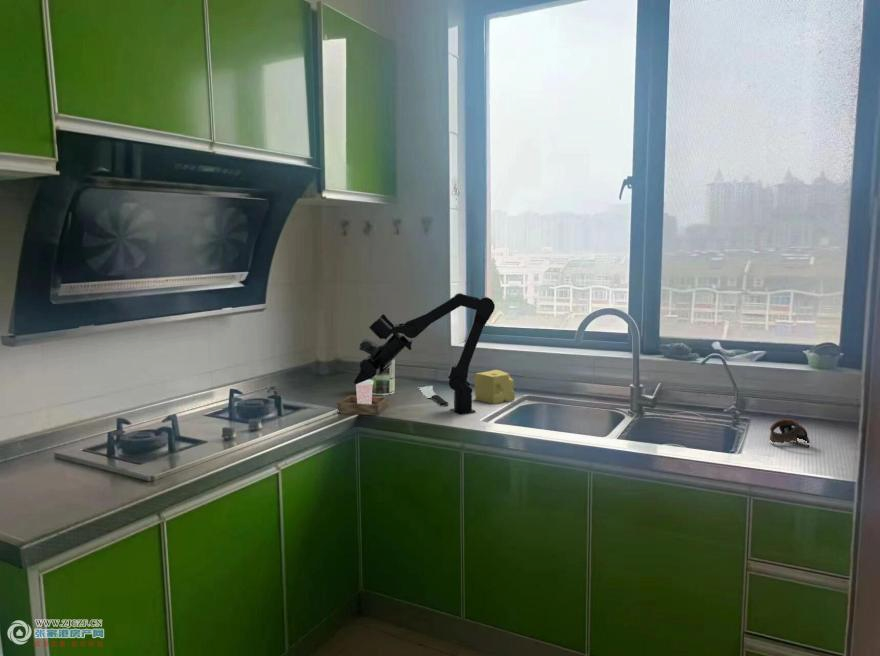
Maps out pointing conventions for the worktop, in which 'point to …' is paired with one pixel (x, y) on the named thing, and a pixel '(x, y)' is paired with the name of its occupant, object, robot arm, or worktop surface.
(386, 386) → the coffee can
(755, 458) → the worktop surface
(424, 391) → the kitchen cleaver
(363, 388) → the beverage cup
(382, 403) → the tray
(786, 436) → the brown openwork dome
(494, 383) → the cheese
